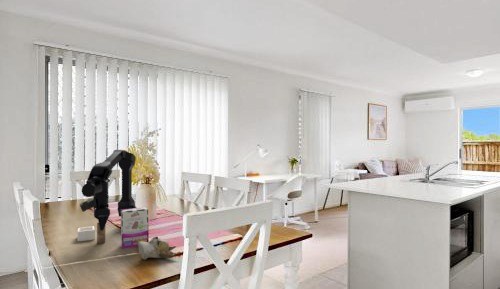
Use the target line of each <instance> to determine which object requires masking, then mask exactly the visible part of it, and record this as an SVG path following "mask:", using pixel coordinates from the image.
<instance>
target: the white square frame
mask: <svg viewBox="0 0 500 289" xmlns="http://www.w3.org/2000/svg"><path fill="white" fill-rule="evenodd" d="M95 235H96V229H95V226H94V225H92V226H85V227H83V226H82V227H78V228H77V242H84V241H92V240H96V236H95Z"/></svg>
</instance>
